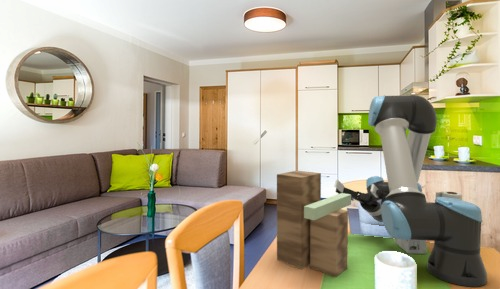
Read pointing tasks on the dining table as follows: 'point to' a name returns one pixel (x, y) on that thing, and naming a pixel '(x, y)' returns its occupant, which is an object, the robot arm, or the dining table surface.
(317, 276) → the dining table surface
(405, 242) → the light bulb box
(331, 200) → the sage bar
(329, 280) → the dining table surface
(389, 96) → the robot arm
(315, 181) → the walnut stand
